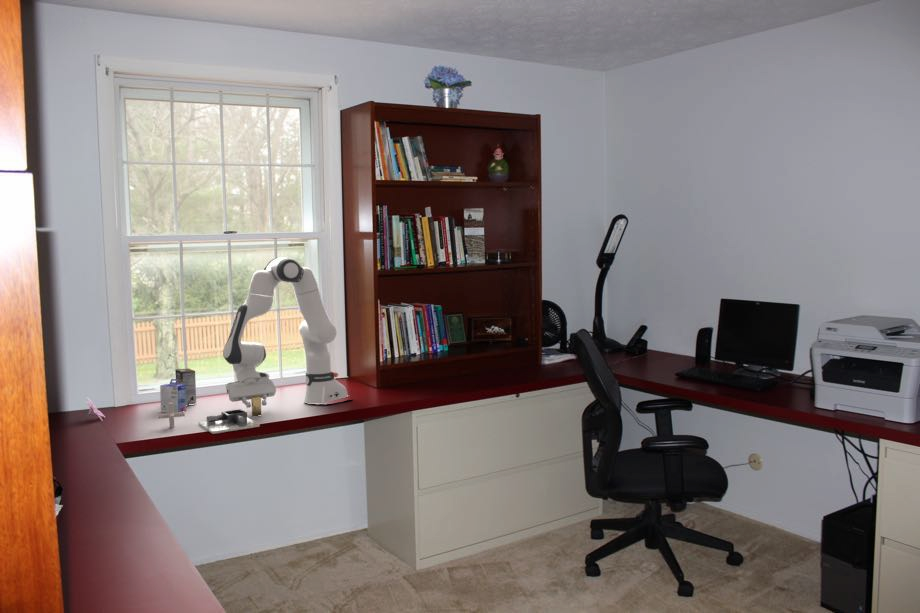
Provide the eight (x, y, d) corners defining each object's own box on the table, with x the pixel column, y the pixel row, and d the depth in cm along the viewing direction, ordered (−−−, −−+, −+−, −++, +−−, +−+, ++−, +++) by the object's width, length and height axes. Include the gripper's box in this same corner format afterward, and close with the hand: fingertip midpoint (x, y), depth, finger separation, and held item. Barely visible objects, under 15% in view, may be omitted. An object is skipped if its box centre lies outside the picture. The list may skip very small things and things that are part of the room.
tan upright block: (259, 414, 322) (258, 396, 322) (262, 415, 319) (262, 397, 319) (250, 415, 320) (249, 397, 319) (253, 417, 317) (253, 398, 316)
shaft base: (243, 417, 315) (243, 407, 315) (259, 426, 300) (259, 415, 300) (198, 424, 304) (198, 413, 304) (212, 433, 289) (211, 422, 289)
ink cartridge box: (187, 411, 330) (185, 379, 328) (178, 413, 324) (177, 381, 323) (169, 409, 333) (167, 378, 332) (160, 412, 328) (158, 380, 326)
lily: (91, 427, 306) (103, 406, 308) (67, 415, 308) (78, 394, 309) (105, 429, 318) (116, 408, 320) (82, 418, 319) (93, 397, 321)
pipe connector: (184, 423, 307) (183, 399, 306) (185, 428, 298) (184, 404, 297) (158, 425, 303) (157, 401, 302) (158, 431, 294) (157, 406, 293)
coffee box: (176, 403, 346) (174, 369, 345) (190, 401, 350) (188, 367, 349) (182, 406, 339) (181, 372, 337) (196, 404, 343) (195, 370, 341)
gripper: (226, 378, 318) (234, 404, 311) (271, 373, 330) (280, 398, 323) (223, 387, 322) (231, 413, 315) (268, 381, 334) (277, 406, 327)
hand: (256, 405), depth 319 cm, fingers open, 5 cm apart
